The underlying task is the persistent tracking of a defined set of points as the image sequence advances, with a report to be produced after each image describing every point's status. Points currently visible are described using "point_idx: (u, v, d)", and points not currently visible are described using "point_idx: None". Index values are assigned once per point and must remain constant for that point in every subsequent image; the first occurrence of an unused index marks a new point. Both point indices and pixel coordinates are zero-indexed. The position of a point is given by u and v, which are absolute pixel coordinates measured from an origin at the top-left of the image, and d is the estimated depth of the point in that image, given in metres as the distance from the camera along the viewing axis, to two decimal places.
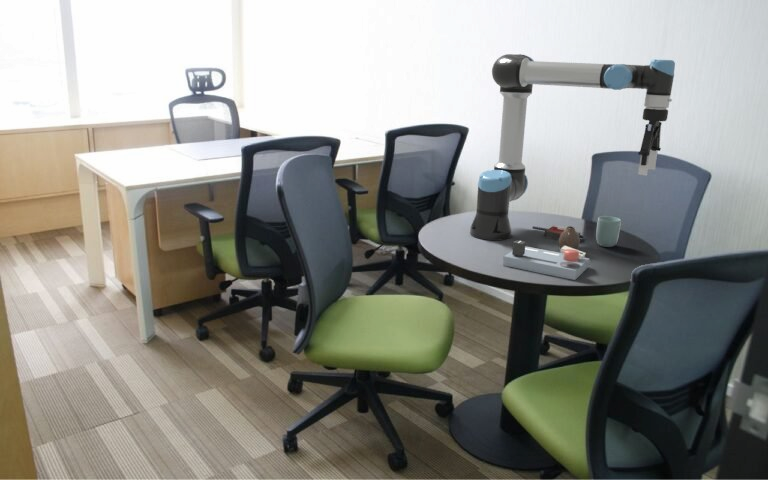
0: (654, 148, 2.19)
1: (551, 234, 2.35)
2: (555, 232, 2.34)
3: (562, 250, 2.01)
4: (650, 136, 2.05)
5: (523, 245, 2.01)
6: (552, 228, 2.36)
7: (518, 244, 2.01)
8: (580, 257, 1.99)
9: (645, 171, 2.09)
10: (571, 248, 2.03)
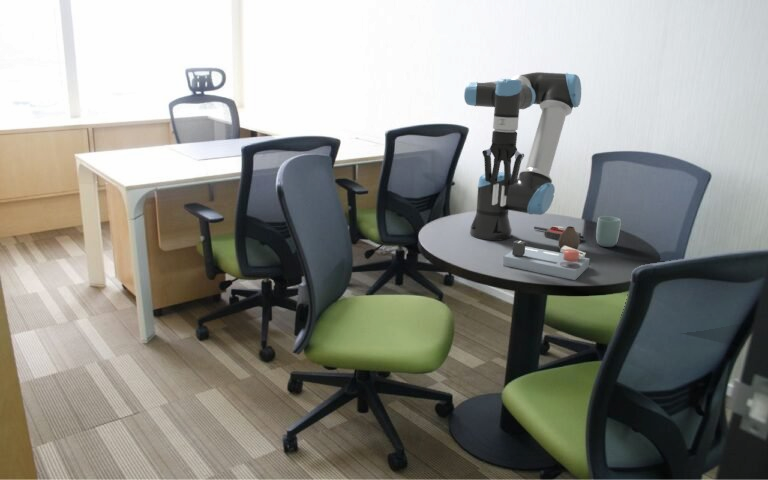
0: None
1: (551, 234, 2.35)
2: (555, 232, 2.34)
3: (562, 250, 2.01)
4: None
5: (523, 245, 2.01)
6: (552, 228, 2.36)
7: (518, 244, 2.01)
8: (580, 257, 1.99)
9: None
10: (571, 248, 2.03)
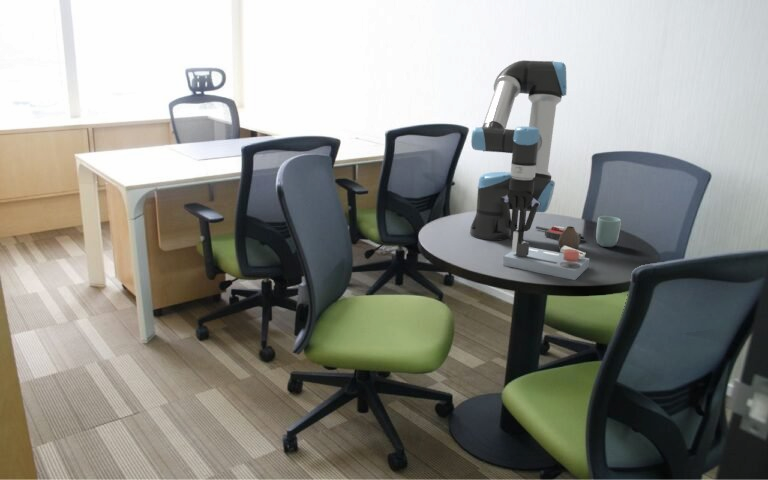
0: None
1: (551, 234, 2.34)
2: (555, 232, 2.34)
3: (562, 250, 2.01)
4: None
5: (527, 246, 2.01)
6: (553, 228, 2.36)
7: (522, 245, 2.00)
8: (580, 257, 1.99)
9: None
10: (571, 248, 2.03)
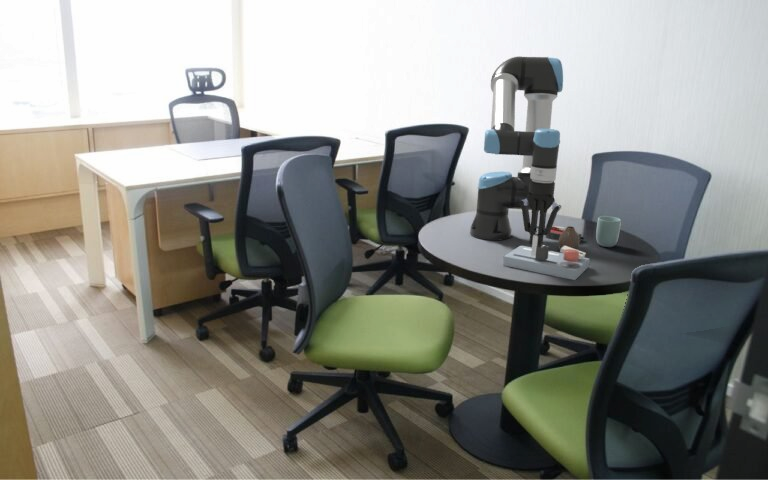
0: None
1: (551, 234, 2.34)
2: (555, 232, 2.34)
3: (562, 250, 2.01)
4: None
5: (546, 249, 1.97)
6: (553, 228, 2.36)
7: (541, 248, 1.97)
8: (580, 257, 1.99)
9: None
10: (571, 248, 2.03)
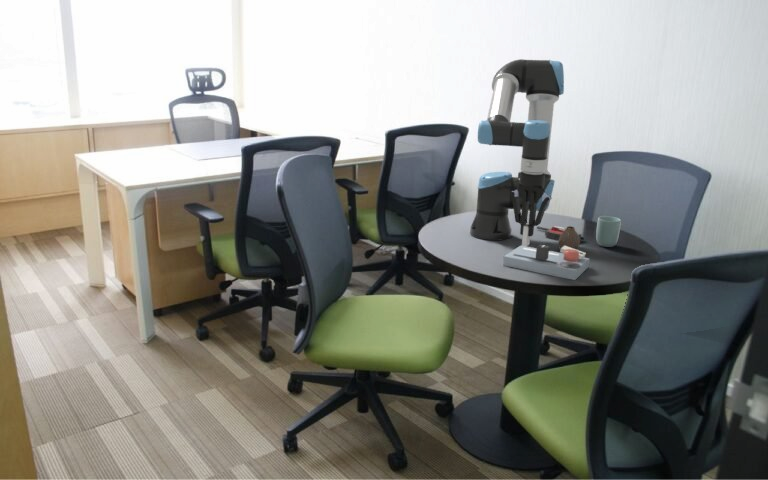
0: None
1: (551, 234, 2.34)
2: (555, 233, 2.33)
3: (562, 250, 2.01)
4: None
5: (547, 249, 1.97)
6: (553, 228, 2.36)
7: (542, 248, 1.97)
8: (580, 257, 1.99)
9: None
10: (571, 248, 2.03)
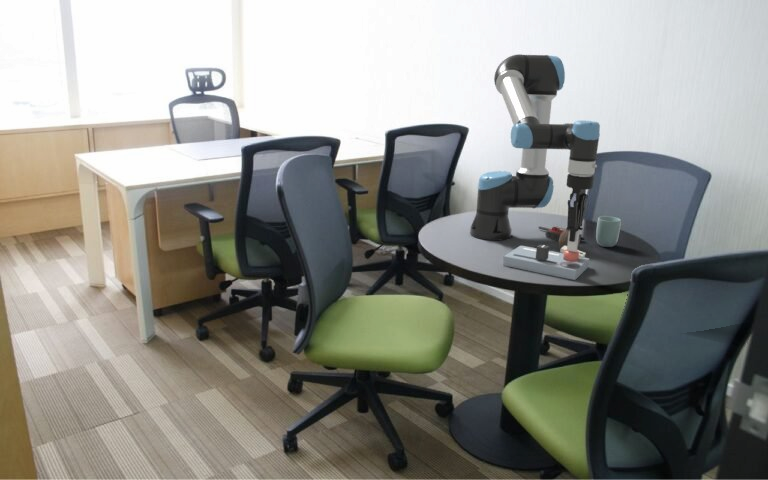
0: None
1: (551, 234, 2.34)
2: (555, 232, 2.33)
3: (562, 250, 2.01)
4: (574, 213, 1.86)
5: (547, 249, 1.97)
6: (553, 228, 2.35)
7: (542, 248, 1.97)
8: (580, 257, 1.99)
9: (574, 247, 1.93)
10: None
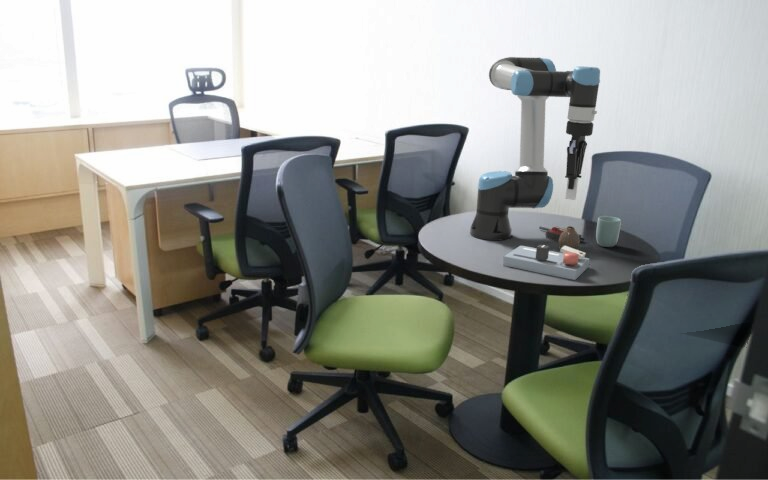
0: None
1: (551, 234, 2.34)
2: (555, 233, 2.33)
3: (562, 250, 2.01)
4: (574, 160, 1.86)
5: (547, 249, 1.97)
6: (553, 229, 2.35)
7: (542, 248, 1.97)
8: (580, 257, 1.99)
9: (573, 195, 1.93)
10: (571, 248, 2.03)
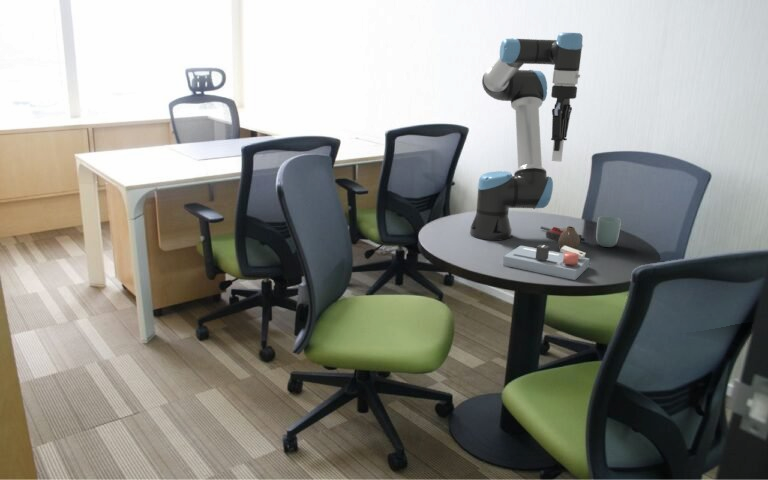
0: None
1: (551, 234, 2.34)
2: (555, 233, 2.33)
3: (562, 250, 2.01)
4: (558, 121, 1.95)
5: (547, 249, 1.97)
6: (553, 229, 2.35)
7: (542, 248, 1.97)
8: (580, 257, 1.99)
9: (559, 157, 2.02)
10: (571, 248, 2.03)
